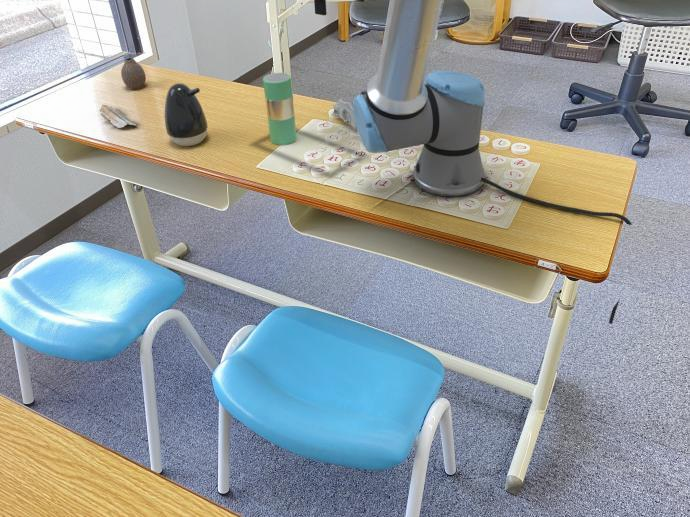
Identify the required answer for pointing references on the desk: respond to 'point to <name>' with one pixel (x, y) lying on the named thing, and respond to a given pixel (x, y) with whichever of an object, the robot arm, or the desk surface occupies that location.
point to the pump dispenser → (184, 116)
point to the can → (280, 108)
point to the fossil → (115, 116)
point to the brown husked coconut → (133, 74)
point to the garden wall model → (345, 112)
